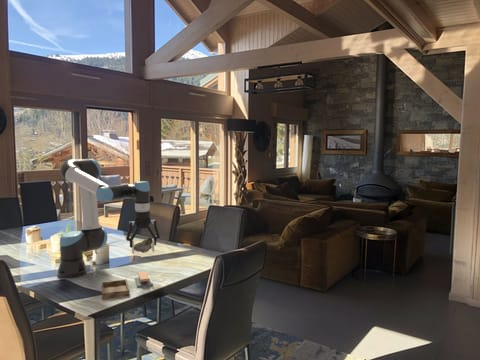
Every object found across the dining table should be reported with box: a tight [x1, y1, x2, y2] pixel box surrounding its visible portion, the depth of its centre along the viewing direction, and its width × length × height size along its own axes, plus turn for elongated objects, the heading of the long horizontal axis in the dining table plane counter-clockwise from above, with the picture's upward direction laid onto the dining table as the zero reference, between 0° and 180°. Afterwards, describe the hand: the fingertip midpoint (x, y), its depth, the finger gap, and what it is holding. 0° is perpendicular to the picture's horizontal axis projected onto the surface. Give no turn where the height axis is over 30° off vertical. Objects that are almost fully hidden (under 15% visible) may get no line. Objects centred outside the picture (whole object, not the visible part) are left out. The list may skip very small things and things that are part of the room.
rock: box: [134, 236, 153, 254], centre depth 202 cm, size 11×6×10 cm
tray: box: [100, 278, 130, 300], centre depth 189 cm, size 13×16×3 cm
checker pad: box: [137, 271, 149, 282], centre depth 201 cm, size 4×11×1 cm, turn 22°
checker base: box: [134, 274, 154, 289], centre depth 201 cm, size 8×12×3 cm, turn 22°
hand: (143, 252), depth 199 cm, fingers closed on rock, 10 cm apart
